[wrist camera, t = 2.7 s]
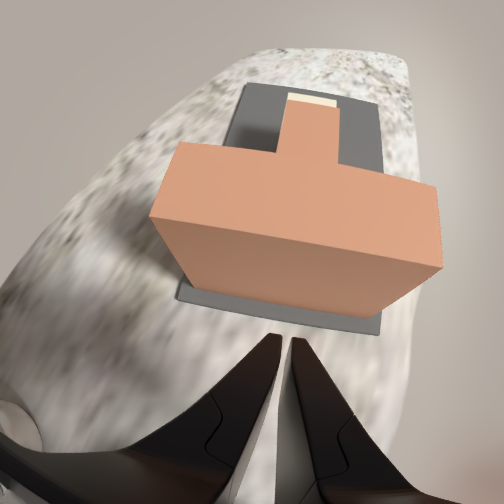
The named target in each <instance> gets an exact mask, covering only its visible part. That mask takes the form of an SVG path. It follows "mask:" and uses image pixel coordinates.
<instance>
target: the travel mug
mask: <svg viewBox="0 0 504 504" xmlns="http://www.w3.org/2000/svg"><path fill="white" fill-rule="evenodd" d="M3 496H4V495H3V492H2V489H1V486H0V500H1V499H2V497H3Z"/></svg>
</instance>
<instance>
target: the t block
mask: <svg viewBox="0 0 504 504" xmlns="http://www.w3.org/2000/svg"><path fill="white" fill-rule="evenodd" d="M339 122H340V108H335V107H330V106H325V105H319V104H313V103H307V102H301V101H295V100H288V99H287V104H286V109H285V113H284V118H283V123H282V128H281V133H280V137H279V142H278V147H277V152H276V153H273V152H266V151H259V150H252V149H244V148H236V147H227V146H218V145H208V144H198V143H186V142H179V144H178V146H177V148H176V151H175V153H174V155H173V158H172V160H171V162H170V165H169V167H168V169H167V172H166V174H165V176H164V179H163V181H162V184H161V186H160V189H159V191H158V194H157V196H156V199H155V201H154V204H153V207H152V209H151V212H150V214H149V217H150V219H151V221H152V222H153V224H154V226H155V227H156V229H157V230H158V232H159V234H160V235H161V237H162V239H163V240H164V242H165V243H166V245H167V246H168V248H169V250H170V251H171V253H172V254H173V256H174V257H175V259H176V261H177V262H178V264H179V265H180V267H181V268H182V270H183V271H184V273H185V274H186V276H187V277H188V279H189V280H190V282H191V284H192V285H193V287H194V288H195V289H200V290H205V291H209V292H214V293H219V294H225V295H230V296H235V297H240V298H245V299H251V300H256V301H261V302H267V303H272V304H278V305H284V306H289V307H295V308H301V309H307V310H313V311H319V312H326V313H332V314H338V315H345V316H351V317H358V318H365V319H368V318H370V317H372V316H373V315H375V314H376V313H378V312H380V311H381V310H383V309H384V308H386V307H387V306H389V305H390V304H392V303H393V302H395V301H396V300H398V299H399V298H401V297H402V296H404V295H405V294H407V293H408V292H410V291H411V290H413V289H414V288H416V287H417V286H419V285H420V284H421V283H423V282H424V281H426V280H427V279H428V278H430V277H431V276H432V275H434V274H435V273H437V272H438V271H439V270H441V269H442V268H443V258H442V242H441V228H440V218H439V209H438V200H437V193H436V187H433V186H430V185H426V184H422V183H419V182H415V181H411V180H408V179H404V178H400V177H396V176H392V175H387V174H383V173H379V172H375V171H370V170H366V169H361V168H357V167H352V166H347V165H342V164H338V151H339Z"/></svg>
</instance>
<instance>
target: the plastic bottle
mask: <svg viewBox="0 0 504 504" xmlns="http://www.w3.org/2000/svg"><path fill="white" fill-rule="evenodd" d="M0 432H2V433H3V434H5V435H6V436H8V437H9V438H10V439H12V440H13V441H15V442H16V443H18V444H19V445H21V446H23V447H25V448H28V449H31V450H35V451H39V452H43V446H42V440H41V436H40V433H39V431H38V428H37V427H36V425H35V423H34V422H33V420H32V419H31V417H30V416H29V415H28V414H27V413H26V412H25V411H24V410H23V409H22V408H20V407H19V406H18V405H16V404H13V403H10V402H7V401H3V400H0Z"/></svg>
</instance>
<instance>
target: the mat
mask: <svg viewBox="0 0 504 504" xmlns="http://www.w3.org/2000/svg"><path fill="white" fill-rule="evenodd" d="M287 99H288V100H295V101H301V102H307V103H313V104H319V105H325V106H330V107H335V108H340V122H339V151H338V164H342V165H347V166H352V167H357V168H361V169H366V170H370V171H375V172H379V173H383V174H384V171H383V156H382V143H381V132H380V122H379V113H378V104H374V103H370V102H366V101H362V100H357V99H353V98H348V97H344V96H339V95H334V94H328V93H323V92H317V91H311V90H305V89H299V88H292V87H284V86H277V85H268V84H259V83H248V82H247V85H246V88H245V90H244V93H243V95H242V98H241V101H240V104H239V106H238V109H237V112H236V114H235V117H234V120H233V123H232V126H231V128H230V131H229V134H228V137H227V140H226V143H225V145H224V146H227V147H236V148H244V149H252V150H259V151H266V152H273V153H276V152H277V147H278V142H279V137H280V133H281V128H282V123H283V118H284V113H285V109H286V104H287ZM178 300H179V301H182V302H187V303H191V304H196V305H200V306H205V307H210V308H215V309H219V310H224V311H229V312H234V313H239V314H245V315H250V316H255V317H260V318H266V319H271V320H277V321H283V322H288V323H294V324H300V325H306V326H313V327H319V328H325V329H332V330H339V331H346V332H353V333H360V334H368V335H375V336H378V335H380V325H381V314H382V310H381V311H380V312H378V313H376V314H375V315H373V316H372V317H370V318H368V319H365V318H358V317H351V316H345V315H338V314H332V313H326V312H319V311H313V310H307V309H301V308H295V307H289V306H284V305H278V304H272V303H267V302H261V301H256V300H251V299H245V298H240V297H235V296H230V295H225V294H219V293H214V292H209V291H205V290H200V289H195V288H194V287H193V285H192V284H191V282H190V280H189V279H188V277H187V276H186V274H185V273H184V277H183V281H182V284H181V288H180V291H179V295H178Z"/></svg>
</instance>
